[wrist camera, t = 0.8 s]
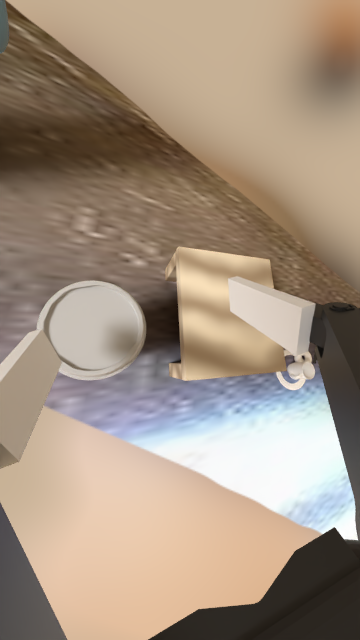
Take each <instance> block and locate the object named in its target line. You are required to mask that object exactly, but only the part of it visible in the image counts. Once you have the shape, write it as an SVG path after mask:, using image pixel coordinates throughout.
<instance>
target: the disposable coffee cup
mask: <svg viewBox="0 0 360 640" xmlns="http://www.w3.org/2000/svg"><path fill="white" fill-rule="evenodd" d="M40 329H42V330H43V331H44V333H45V335H46V336H47V338H48V340H49V342H50V343H51V345H52V347H53V348H54V350H55V352H56V354H57V355H58V357H59V359H60V360H61V362H62V364H61V366H60V368H59V372H61V373H62V374H64V375H66V376H69V377H71V378H75V379H79V380H99V379H104V378H107V377H110V376H113V375H115V374H117V373H119V372H121V371H122V370H124V369H125V368H126V367H128V366H129V365H130V364H131V363H132V362H133V361H134V360H135V359H136V357H137V356H138V354H139V353H140V351H141V349H142V347H143V345H144V341H145V337H146V321H145V316H144V314H143V311H142V309H141V307H140V305H139V304H138V302H137V301H136V300H135V299H134V298H133V297H132V296H131V295H130V294H129V293H128V292H127V291H125V290H124V289H122V288H120V287H119V286H116V285H113V284H111V283H107V282H102V281H82V282H78V283H74V284H71V285H69V286H67V287H65V288H63V289H61V290H60V291H58V292H57V293H56V294H55V295H54V296H52V297H51V298H50V300H49V301H48V302H47V303H46V305H45V306H44V308H43V310H42V311H41V313H40V316H39V320H38V323H37V330H40Z"/></svg>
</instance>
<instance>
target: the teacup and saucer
mask: <svg viewBox="0 0 360 640" xmlns="http://www.w3.org/2000/svg"><path fill="white" fill-rule="evenodd" d="M286 355H293V356H294V360H295V363H291V364H289V365H288V367H287V371H288V373H289V375H290V377H291V378H293V379H300V380H299V381H298V382H297V383H294V384H291V383H288V382H287V381H285V380H284V378H283V377H282V374H281V372H276V374H277V377H278V379H279V381H280V382H281V384H282V385H283V386H284V387H286V388H287V389H290V390H297V389H299V388H301V387H302V386H303V384H304V383H305V380H306V379H312V378H313V377H314V375H315V369H314V366H313V365H312V364H311V362H312V357H311V354H310V353H309V352H305V353H303V354H300V355H298V356H295V355H294V354H292V353H291V352H289V351H288V350H284V356H286ZM302 355H303V356H304V357H305V360H304V359H303V358H302ZM291 375H292V376H291ZM293 376H294V377H293Z"/></svg>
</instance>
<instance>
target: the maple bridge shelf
mask: <svg viewBox="0 0 360 640" xmlns="http://www.w3.org/2000/svg"><path fill="white" fill-rule="evenodd" d="M236 276H238V277H241V278H244V279H247V280H250V281H252V282H255V283H258V284H261V285H264V286H267V287H270V288H272V289H274V285H273V279H272V273H271V266H270V260H268V259H262V258H255V257H248V256H241V255H234V254H227V253H220V252H213V251H206V250H199V249H192V248H185V247H178V248H177V250H176V252H175V254H174V255H173V257H172V259H171V261H170V262H169V264H168V266H167V268H166V270H165V279H166V281H173V282H177V293H178V312H179V331H180V349H181V363H169V375H170V376H171V377H174V378H178V379H182V380H185V381H189V380H199V379H210V378H220V377H230V376H240V375H250V374H261V373H271V372H281V371H287V369H286V363H285V356H284V350H283V347H282V346H281V345H279V344H278V343H276V342H275V341H273V340H272V339H270V338H269V337H267V336H266V335H264V334H263V333H261V332H260V331H259V330H257V329H256V328H254V327H253V326H251V325H250V324H248V323H247V322H245V321H244V320H242V319H241V318H239V317H238V316H237V315H235V314H234V313H232V312H231V311H230V301H229V285H228V278H232V277H236Z"/></svg>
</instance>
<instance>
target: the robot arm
mask: <svg viewBox="0 0 360 640" xmlns="http://www.w3.org/2000/svg"><path fill="white" fill-rule="evenodd" d="M8 41H9V25H8V17H7V10H6V4H5V0H0V53H2V52H4V50H5V49H6V47H7V45H8ZM228 285H229V301H230V311H231V312H232V313H234V314H235V315H237V316H238V317H239V318H241V319H242V320H244V321H245V322H247V323H248V324H250V325H251V326H253V327H254V328H256V329H257V330H259V331H260V332H261V333H263V334H264V335H266V336H267V337H269V338H270V339H272V340H273V341H275V342H276V343H278V344H279V345H281V346H282V347H284V348H285V349H286V350H288V351H289V352H291V353H292V354H294V355H295V356H298V355H300V354H303V353H305V352H308V349H309V343H310V342H312V343H314V344H316V349H315V354H314V360H313V363H316V360H318V364H319V368H320V371H321V375H322V379H323V382H324V386H325V390H326V394H327V397H328V401H329V405H330V409H331V412H332V416H333V420H334V423H335V427H336V431H337V435H338V438H339V442H340V446H341V450H342V453H343V457H344V461H345V464H346V468H347V472H348V476H349V479H350V483H351V487H352V491H353V494H354V499H355V506H356V516H355V521H356V530H357V536H358V540H347V539H345V540H344V539H343V538H342V536H341V535H340V534H339V532H338V531H337V530H336V528H335V527H334V528H333V529H331V530H329V531H328V532H326V533H324V534H323V535H321V536H319V537H318V538H316V539H314V540H313V541H311V542H309V543H308V544H306V545H305V546H303V547H301V548H299V549H298V550H296V551H295V552H294V554H293V555H292V556H291V558H290V559H289V561H288V562H287V564H286V565H285V566H284V568H283V569H282V571H281V572H280V574H279V575H278V576H277V578H276V579H275V581H274V582H273V584H272V585H271V587H270V588H269V590H268V591H267V592H266V594H265V595H264V597H263V598H262V599H261V601H259V602H258V603H255V604H249V605H239V606H228V607H217V608H208V609H198V610H197V611H195V612H193V613H192V614H190V615H188V616H187V617H185V618H183V619H182V620H180V621H178V622H177V623H175V624H173V625H172V626H170V627H168V628H167V629H165V630H163V631H162V632H160V633H158V634H157V635H156V636H154V637H152V638H150V639H149V640H360V308H359V309H358V308H357V307H356V306H353V305H351V304H347V303H338V302H335V303H328V304H325V305H320V304H317V303H314V302H311V301H308V300H306V299H303V298H300V297H297V296H294V295H291V294H287V293H284V292H281V291H278V290H275V289H272V288H270V287H267V286H264V285H261V284H258V283H255V282H252V281H250V280H247V279H244V278H241V277H238V276H236V277H232V278H228ZM61 364H62V362H61V360H60V359H59V357H58V355H57V354H56V352H55V350H54V348H53V347H52V345H51V343H50V342H49V340H48V338H47V336H46V335H45V333H44V331H43V330H42V329H40V330H36V331H33V332H29V333H28V334H27V335H26V336H25V338H24V339H23V340H22V341H21V342H20V343H19V344H18V345H17V346H16V348H15V349H14V350H13V351H12V352H11V353H10V354H9V355H8V356H7V358H6V359H5V360H4V361H3V362H2V363H1V364H0V468H3V467H6V466H9V465H11V464H14V463H16V462H19V461H20V459H21V456H22V454H23V452H24V449H25V447H26V445H27V442H28V440H29V438H30V436H31V433H32V431H33V429H34V426H35V424H36V422H37V419H38V417H39V415H40V412H41V410H42V408H43V405H44V403H45V401H46V398H47V396H48V394H49V391H50V389H51V387H52V385H53V382H54V380H55V378H56V375H57V373H58V371H59V368H60V366H61ZM0 640H67V638H66V636H65V634H64V632H63V630H62V628H61V626H60V624H59V622H58V620H57V618H56V616H55V614H54V612H53V610H52V608H51V605H50V603H49V601H48V599H47V597H46V595H45V593H44V591H43V589H42V587H41V585H40V583H39V581H38V579H37V577H36V575H35V573H34V571H33V569H32V566H31V565H30V563H29V561H28V558H27V556H26V554H25V552H24V550H23V548H22V546H21V544H20V542H19V540H18V538H17V536H16V534H15V532H14V530H13V528H12V526H11V523H10V521H9V519H8V517H7V515H6V513H5V511H4V509H3V507H2V505H1V503H0Z"/></svg>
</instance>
